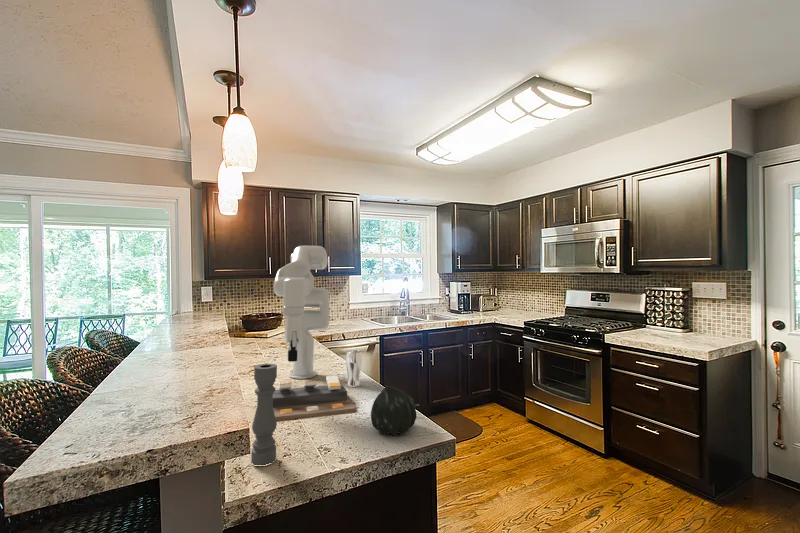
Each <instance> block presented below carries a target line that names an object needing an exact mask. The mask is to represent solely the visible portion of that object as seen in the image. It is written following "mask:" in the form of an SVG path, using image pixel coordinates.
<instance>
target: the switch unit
mask: <svg viewBox="0 0 800 533" xmlns="http://www.w3.org/2000/svg"><path fill="white" fill-rule="evenodd" d="M340 386H341V389H334V390H329V388H328V384H325V385H316V386H315V387H305V388H303V386H301V387H292V388H290V389H279V388H278V389H276V390H275V392H274V393H273V409H274V414H275V418H276V422H277V421H284V420H292V419H293V420H294V419H302V418H310V417H311V418H313V417H319V416H327V415H328V416H329V415H337V414H344V413H345V414H347V413H354V412H355V413H357V407H356V406H355V404H354V402H352V400H351V398H350V397H349V395H348V391H347V389H346V388H345V386H344V385H343V383H340Z"/></svg>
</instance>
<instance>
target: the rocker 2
mask: <svg viewBox="0 0 800 533" xmlns="http://www.w3.org/2000/svg"><path fill="white" fill-rule="evenodd" d="M315 386H318V382H317V380H309V381H308V380H307V381H304V382H303V384H302V387H303V388H305V387H315Z"/></svg>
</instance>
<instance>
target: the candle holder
mask: <svg viewBox="0 0 800 533" xmlns="http://www.w3.org/2000/svg"><path fill="white" fill-rule="evenodd" d="M253 368H254V370H253V371H254V372H253V375H254V376H253V380H254V382H255V384H256V388H255V389H254V393H255V394H256V396H257V399H256V400H257V401H256V403H257V405H256V410H255V413H254V416H253V417H254V418H253V421H252V426H251V428H252V429H251V430H252V432H253V434H254V436H255V439H254V441H253V443H252V448H251V453H250V454H251V459H250V464H251V463H253V464H254V465H266V464H269V463H272V462H273V461H275V459H276V460H277V444H276V439H275V438H274V437H273V435H274V432H275V431H276V429H277V427H278V426H277V424H278V423H277V421H276V418H275V414H274V409H273V393H274V392H275V390H277V389H276V387H275V386H274V384H275V382H276V379H277V378H278V376H277V375H278V372H277V371H278V365H277V364H276V363H261V364H257V365H255V366H254V367H253ZM275 462H276V461H275Z"/></svg>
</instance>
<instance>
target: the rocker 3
mask: <svg viewBox="0 0 800 533" xmlns="http://www.w3.org/2000/svg"><path fill="white" fill-rule="evenodd" d="M325 377H326V378H325V379H326V385H328V388H329V390H334V389H341V386H340V384H341V382H340V380H339V377H338V375H327V376H325Z"/></svg>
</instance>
